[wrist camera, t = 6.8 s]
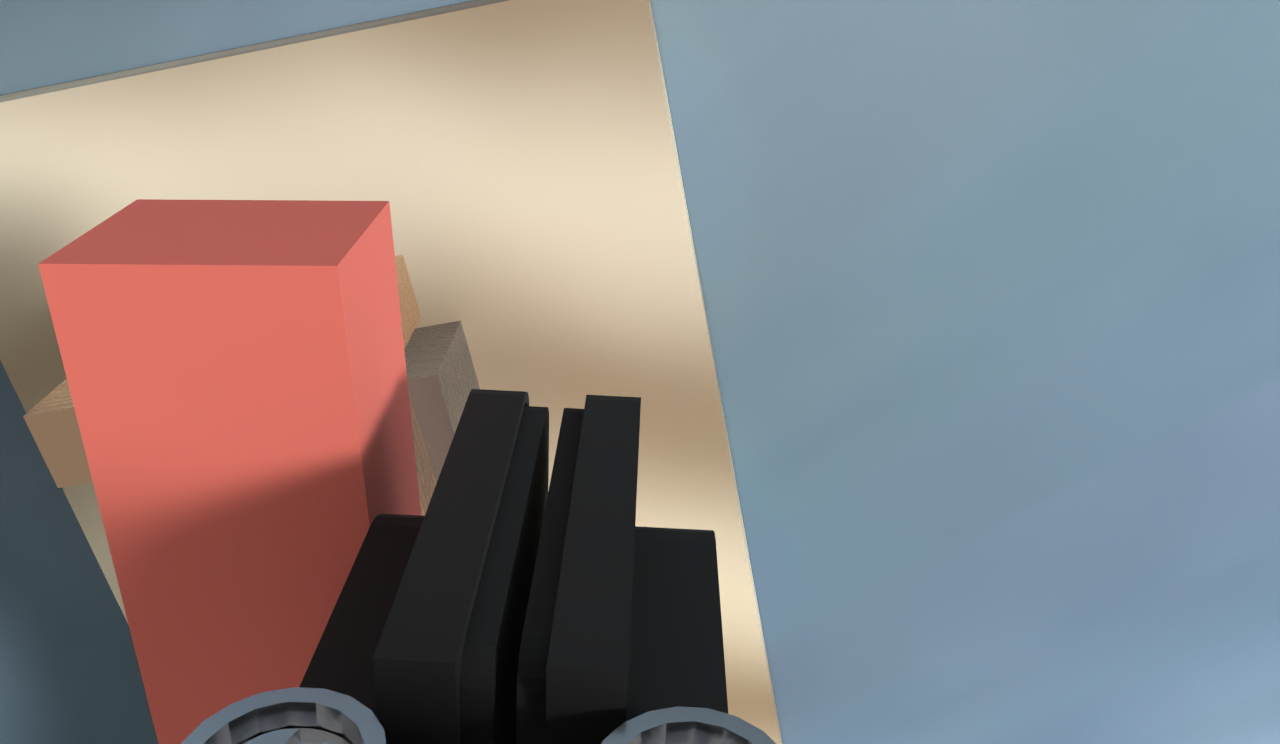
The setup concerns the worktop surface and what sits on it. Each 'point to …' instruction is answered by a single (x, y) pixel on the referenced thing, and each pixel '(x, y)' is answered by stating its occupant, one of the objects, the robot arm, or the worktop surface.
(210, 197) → the board
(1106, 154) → the worktop surface
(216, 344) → the valve lever
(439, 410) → the valve body
